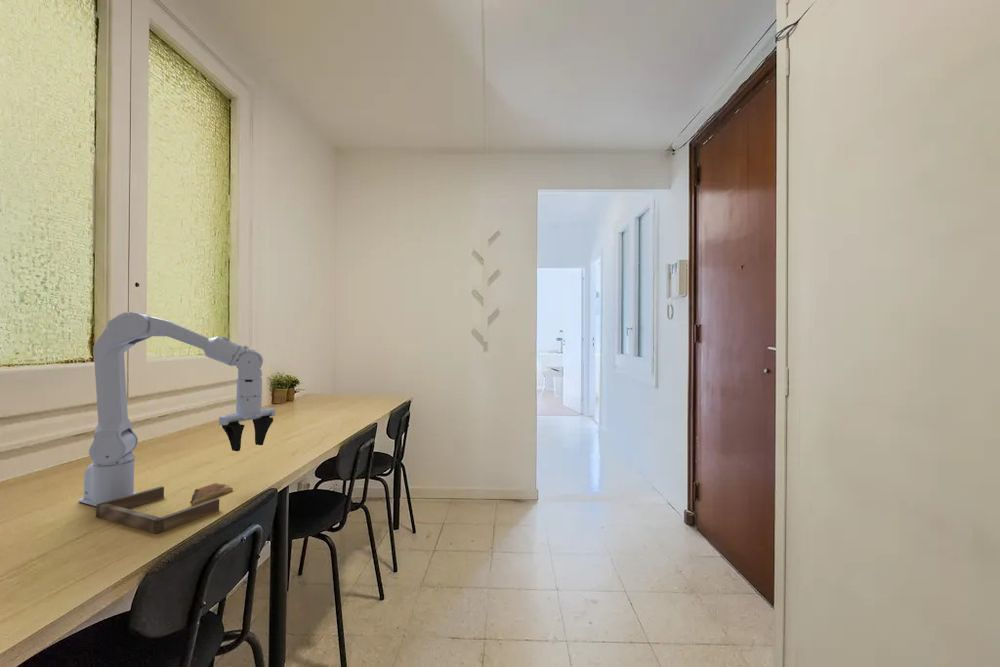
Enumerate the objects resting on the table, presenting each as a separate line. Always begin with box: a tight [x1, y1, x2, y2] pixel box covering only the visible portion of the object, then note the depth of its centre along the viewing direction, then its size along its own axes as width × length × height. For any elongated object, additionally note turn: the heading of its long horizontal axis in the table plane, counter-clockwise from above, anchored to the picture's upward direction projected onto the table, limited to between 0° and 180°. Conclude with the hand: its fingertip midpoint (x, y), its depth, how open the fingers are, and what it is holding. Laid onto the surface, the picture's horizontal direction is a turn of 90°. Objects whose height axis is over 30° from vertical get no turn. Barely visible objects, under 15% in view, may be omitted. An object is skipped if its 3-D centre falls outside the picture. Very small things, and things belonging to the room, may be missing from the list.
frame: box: [95, 485, 220, 535], centre depth 90 cm, size 20×12×2 cm, turn 69°
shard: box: [189, 482, 234, 507], centre depth 100 cm, size 11×8×2 cm
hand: (247, 447), depth 110 cm, fingers open, 6 cm apart
